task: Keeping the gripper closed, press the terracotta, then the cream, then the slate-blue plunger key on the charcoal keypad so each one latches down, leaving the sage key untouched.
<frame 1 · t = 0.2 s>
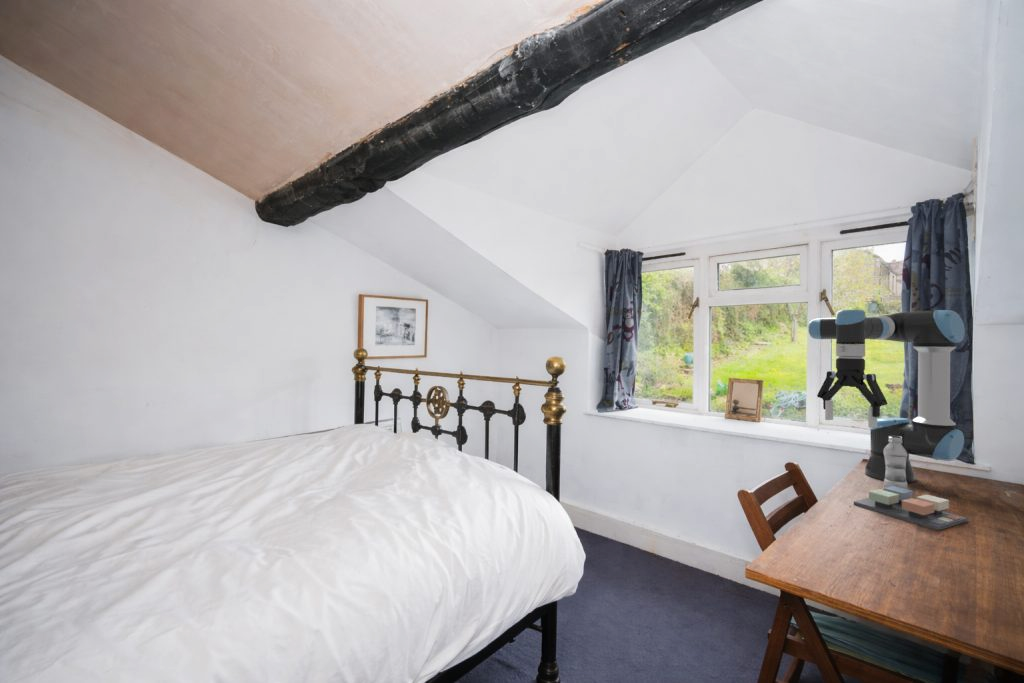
hand: (850, 423, 146), 27 cm above the table, fingers open, 13 cm apart
plastic bottle: (895, 494, 159), on the table
key sage: (883, 496, 145), point 4 cm above the table, slide at 0.0 cm
key cream: (932, 502, 139), point 4 cm above the table, slide at 0.0 cm
key slate: (898, 493, 148), point 4 cm above the table, slide at 0.0 cm
keypad: (907, 512, 142), on the table
key terracotta: (918, 506, 136), point 4 cm above the table, slide at 0.0 cm
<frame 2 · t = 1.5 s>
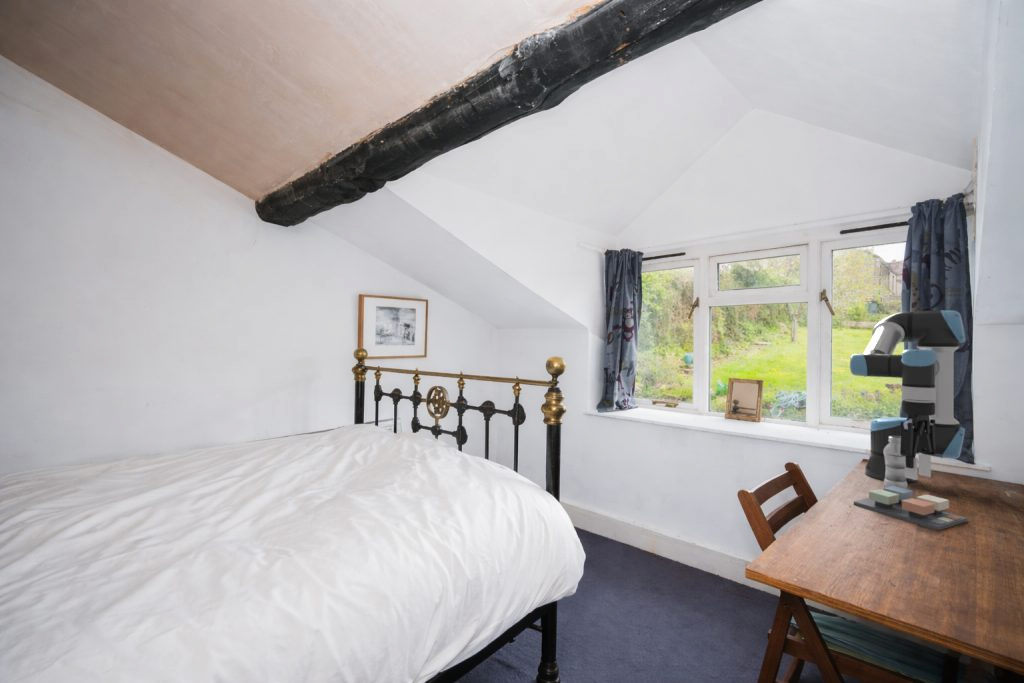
hand: (918, 476, 136), 13 cm above the table, fingers open, 6 cm apart
nothing on the table moved.
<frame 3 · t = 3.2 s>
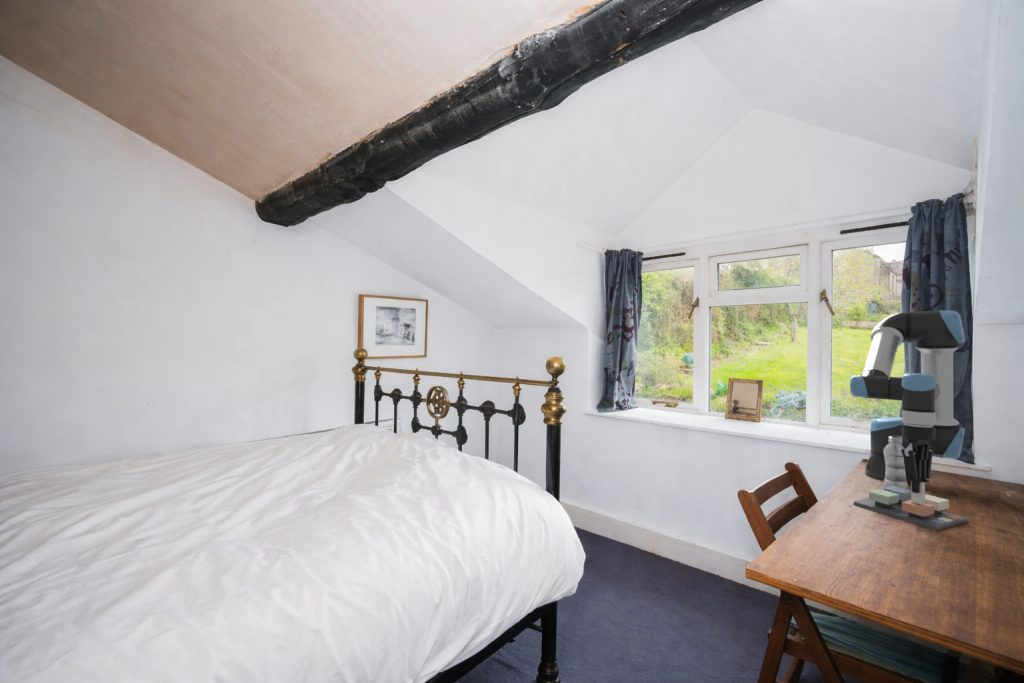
hand: (917, 503, 136), 5 cm above the table, fingers closed
key terracotta: (918, 507, 136), point 4 cm above the table, slide at 0.5 cm, touching gripper
everything else where it was.
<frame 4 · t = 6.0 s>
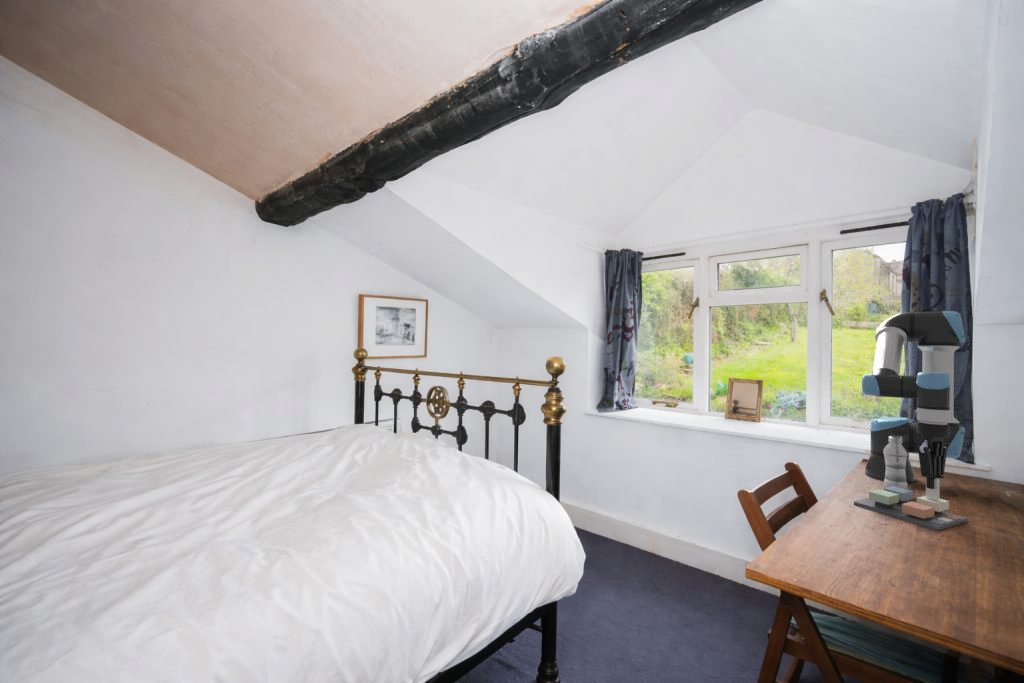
hand: (932, 498, 139), 5 cm above the table, fingers closed
key cream: (932, 503, 139), point 4 cm above the table, slide at 0.3 cm, touching gripper
key terracotta: (918, 509, 136), point 3 cm above the table, slide at 1.1 cm
everything else where it was.
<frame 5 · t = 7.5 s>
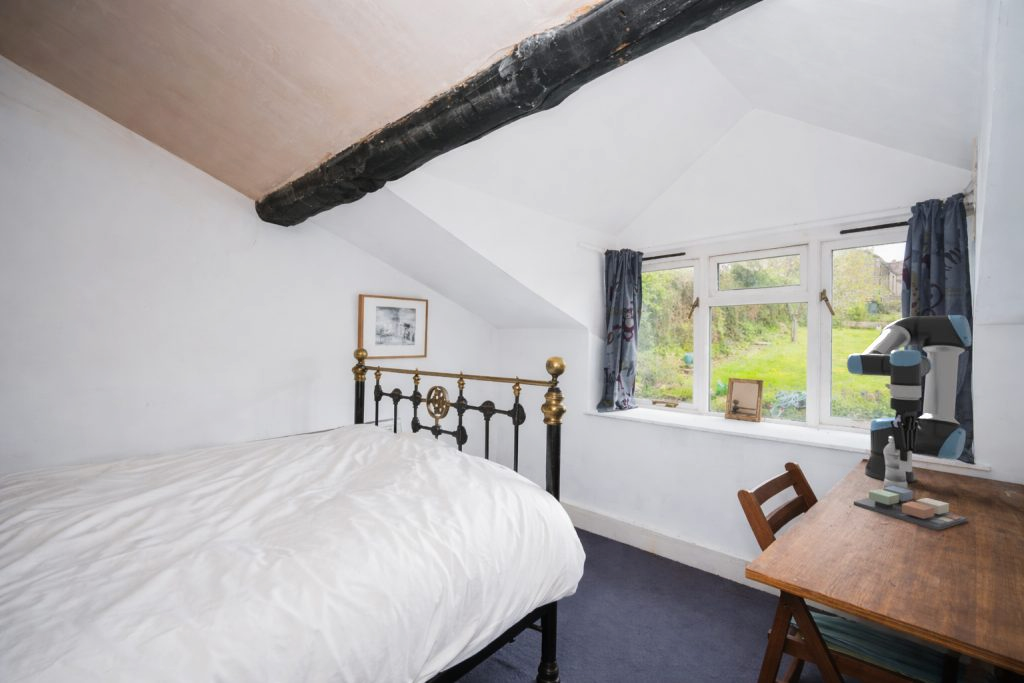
hand: (905, 470, 146), 12 cm above the table, fingers closed
key cream: (932, 505, 139), point 3 cm above the table, slide at 1.1 cm
everything else where it was.
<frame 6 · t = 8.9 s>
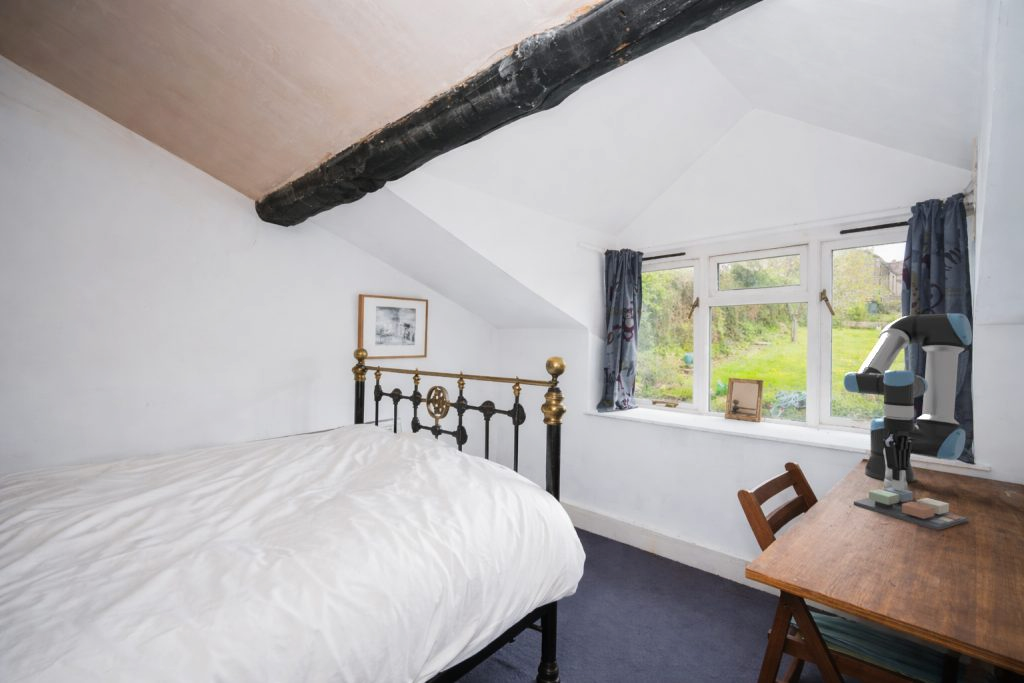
hand: (898, 489, 148), 5 cm above the table, fingers closed
key slate: (898, 494, 148), point 4 cm above the table, slide at 0.3 cm, touching gripper
everything else where it was.
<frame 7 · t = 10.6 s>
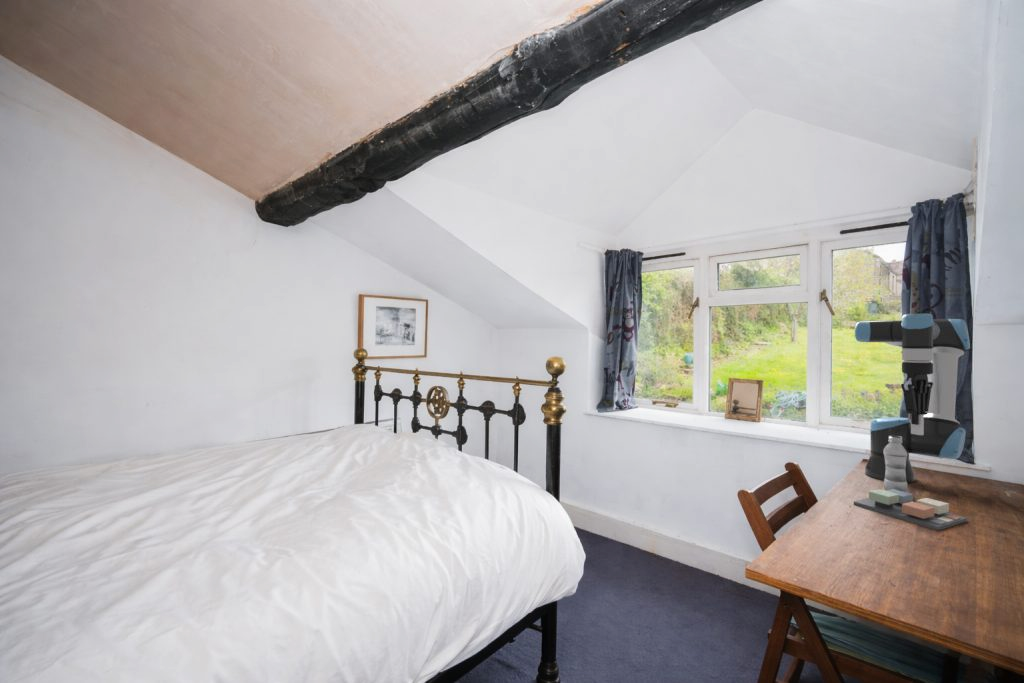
hand: (917, 434, 146), 24 cm above the table, fingers closed
key slate: (898, 496, 148), point 3 cm above the table, slide at 1.1 cm
everything else where it was.
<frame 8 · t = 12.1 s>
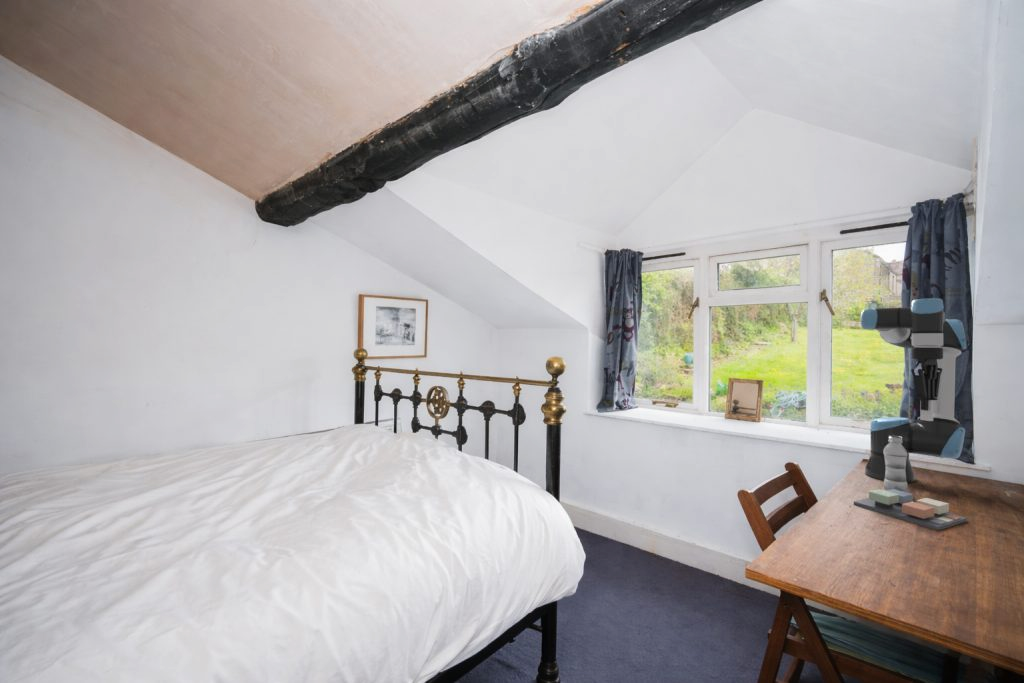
hand: (926, 420, 145), 28 cm above the table, fingers closed
nothing on the table moved.
at the end: key terracotta slide at 1.1 cm; key cream slide at 1.1 cm; key slate slide at 1.1 cm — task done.
